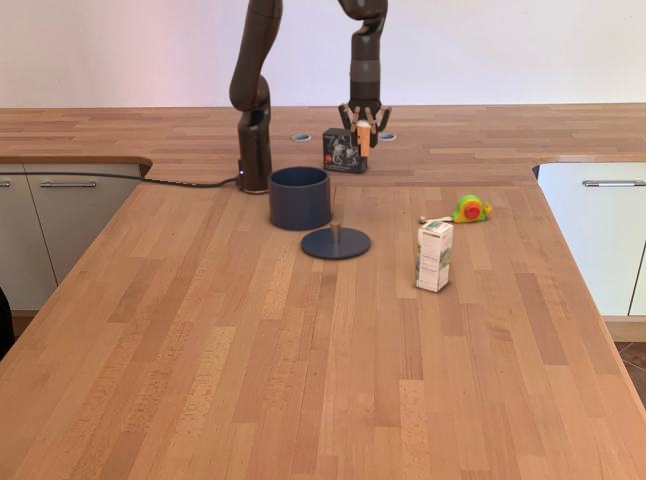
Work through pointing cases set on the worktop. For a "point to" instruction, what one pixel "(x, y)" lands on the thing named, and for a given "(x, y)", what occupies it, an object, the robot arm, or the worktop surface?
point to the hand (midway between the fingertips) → (364, 146)
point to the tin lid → (335, 242)
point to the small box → (341, 152)
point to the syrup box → (433, 255)
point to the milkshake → (363, 138)
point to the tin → (299, 198)
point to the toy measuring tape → (466, 211)
